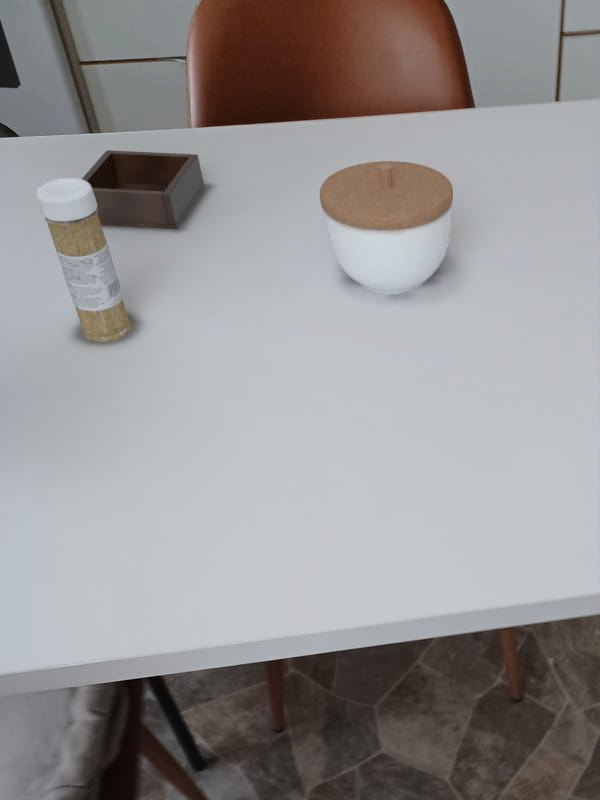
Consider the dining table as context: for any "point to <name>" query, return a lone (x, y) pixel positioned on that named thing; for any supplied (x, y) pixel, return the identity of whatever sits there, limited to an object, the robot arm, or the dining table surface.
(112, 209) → the box
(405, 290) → the lidded bowl
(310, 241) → the dining table surface
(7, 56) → the robot arm
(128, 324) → the brown spice jar
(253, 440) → the dining table surface
